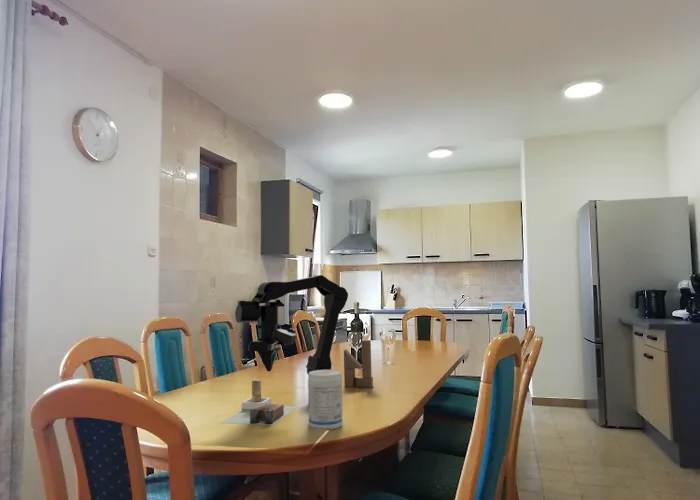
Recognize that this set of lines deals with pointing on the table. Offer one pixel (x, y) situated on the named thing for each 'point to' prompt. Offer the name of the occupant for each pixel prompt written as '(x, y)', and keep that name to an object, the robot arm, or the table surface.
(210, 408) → the table surface
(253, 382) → the dowel
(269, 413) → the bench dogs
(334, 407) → the supplement tub
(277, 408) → the cardboard brown brick
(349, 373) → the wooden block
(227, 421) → the mat
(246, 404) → the tray
